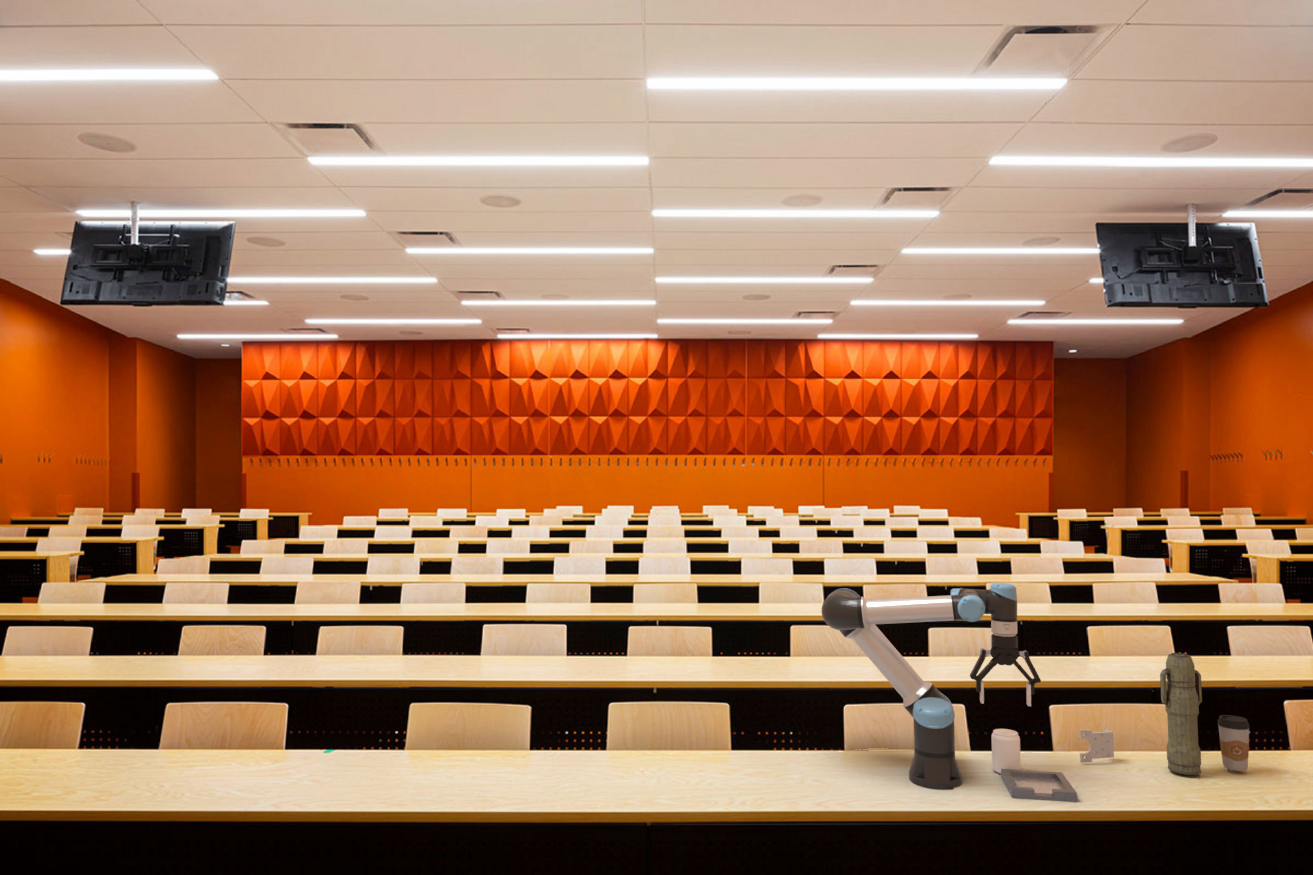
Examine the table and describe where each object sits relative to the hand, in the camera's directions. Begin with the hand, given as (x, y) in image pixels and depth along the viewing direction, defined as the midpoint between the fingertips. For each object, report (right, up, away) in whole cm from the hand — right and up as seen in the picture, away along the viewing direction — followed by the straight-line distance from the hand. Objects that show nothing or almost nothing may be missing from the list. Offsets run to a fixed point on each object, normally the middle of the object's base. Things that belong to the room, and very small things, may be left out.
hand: (1005, 703), depth 265 cm
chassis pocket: (+3, -20, -16) cm, 25 cm away
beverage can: (0, -21, -1) cm, 21 cm away
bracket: (+32, -21, +9) cm, 39 cm away
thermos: (+54, -20, -2) cm, 58 cm away
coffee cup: (+71, -20, 0) cm, 74 cm away
